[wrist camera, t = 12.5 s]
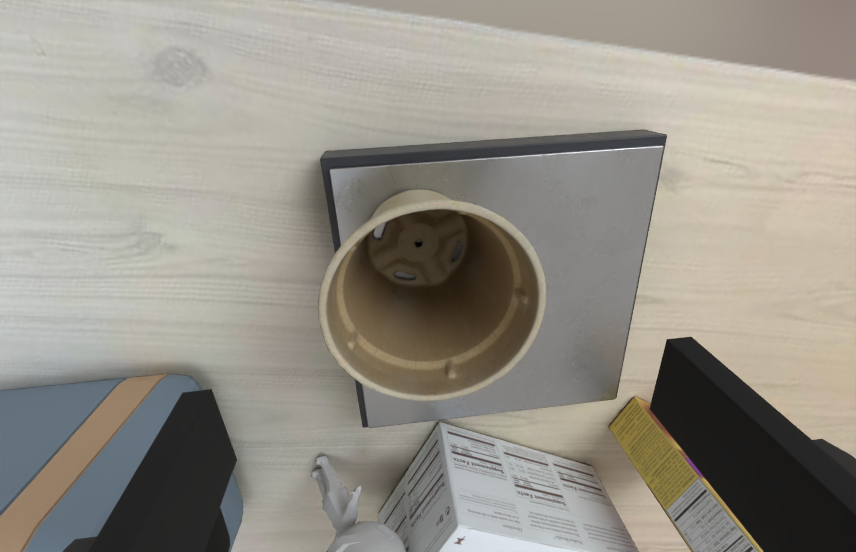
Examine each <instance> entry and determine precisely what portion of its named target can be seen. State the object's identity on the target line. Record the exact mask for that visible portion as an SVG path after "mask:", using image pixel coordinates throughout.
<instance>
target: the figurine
mask: <svg viewBox="0 0 856 552" xmlns="http://www.w3.org/2000/svg"><path fill="white" fill-rule="evenodd" d="M316 464H317V465H321V468H322V469H318V470H314V471H312V474H311V477H313V478H317V481H318V484H319V488H320V491H321V494H322V497H323V509H324V510H325V511H326V513H327V515H328V516H329V518H330V520H331V522H332V524H333V526H334V528H335V529H336V530H337V532H336V536H335V540H334V542H333V543H332V544H331V546H330V547H329V549H328V550H327V552H406V550H405V546H404V544H403V542H402V540H401V539H400V537H399V536H398V534H397V533H395V532H394V531H393V530H392V529H391V528H390V527H388V526H387V525H385V524H383V523H379V522H369V521H362V522H358V523H356V524H355V522H356V518H357V504H358V500H359V496H360V492H361V486H358V487H357V488H355V490H354V492H353V491H352V492H351V493H352V495H351V497H350V498H349V496H348V493H347V489H346V488H345V487H344V486H343V484H342V483H341V481H340V479H339V478H338V476H337V474H336V472H335V471H334V469H333V468H332V466H331V464H330V462H329V461H328V458H327V457H326V456H321V457H318V458H316ZM354 524H355V525H354Z"/></svg>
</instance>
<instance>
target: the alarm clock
mask: <svg viewBox="0 0 856 552" xmlns="http://www.w3.org/2000/svg"><path fill="white" fill-rule="evenodd" d="M201 390H202V389H201V388H200V386H199V385H198V384H197V383H196V382H195V381H194V380H193V379H192V378H191V377H188V376H182V375H175V374H161V375H151V376H142V377H132V378H122V379H112V380H102V381H92V382H82V383H72V384H63V385H53V386H43V387H33V388H23V389H13V390H3V391H0V552H62V551H63V550H64V549H65V548H66V547H67V546H68V545H69V544H70V543H71V542H72V541H73V540H74V539H81V538H88V537H96V536H98V534H99V532H100V531H101V529H102V527H103V526H104V524H105V522H106V521H107V519H108V517H109V515H110V514H111V512H112V510H113V509H114V507H115V505H116V504H117V502H118V500H119V499H120V497H121V495H122V494H123V492H124V490H125V489H126V487H127V485H128V483H129V482H130V480H131V478H132V477H133V475H134V473H135V472H136V470H137V468H138V467H139V465H140V463H141V462H142V460H143V458H144V457H145V455H146V453H147V451H148V450H149V448H150V446H151V445H152V443H153V441H154V440H155V438H156V436H157V435H158V433H159V431H160V430H161V428H162V426H163V424H164V423H165V421H166V419H167V418H168V416H169V414H170V413H171V411H172V409H173V408H174V406H175V404H176V403H177V401H178V399H179V398H180V396H181V394H182V393H183V392H192V391H201ZM242 515H243V501H242V498H241V495H240V492H239V489H238V487H237V484H236V481H235V478H234V475H233V473H232V475H231V478H230V480H229V483H228V486H227V489H226V492H225V495H224V497H223V500H222V503H221V506H220V509H219V512H218V514H217V517H216V520H215V523H214V526H213V529H212V531H211V534H210V537H209V540H208V543H207V545H206V548H205V551H204V552H231V549H232V546H233V543H234V541H235V538H236V535H237V533H238V530H239V527H240V524H241V521H242Z"/></svg>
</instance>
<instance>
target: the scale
mask: <svg viewBox="0 0 856 552" xmlns="http://www.w3.org/2000/svg"><path fill="white" fill-rule="evenodd" d="M666 138H667V135H666V134H661V133H657V132H652V131H648V130H632V131H617V132H602V133H588V134H573V135H558V136H543V137H529V138H514V139H499V140H484V141H470V142H455V143H440V144H425V145H411V146H396V147H381V148H366V149H352V150H337V151H326V152H325V153H324V154H323V156H322V157H321V159H320V161H321V167H322V174H323V180H324V186H325V192H326V199H327V205H328V211H329V218H330V224H331V230H332V237H333V243H334V249H335V253H336V252H337V250H338V249H339V248H340V247H341V245H342V244H343V243H344V242H345V240H346V239H347V238H348V237H349V236H350V235H351V234H352V233H353V232H355V231H356V230H357V229H358V228H359V227H360V226H362V225H363V224H364V223H366V222H367V221H369V220H370V218H371V216H372V215H373V213H374V212H375V211H376V209H377V208H378V207H379V206H380V205H381V204H382V203H383V202H385V201H386V200H388V199H389V198H391V197H393V196H394V195H397V194H400V193H402V192H405V191H408V190H416V189H420V190H430V191H434V192H437V193H440V194H442V195H444V196H446V197H448V198H449V199H451V200H455V201H462V202H467V203H471V204H475V205H478V206H481V207H483V208H486V209H488V210H490V211H492V212H494V213H496V214H498V215H499V216H501V217H503V218H504V219H506V220H507V221H508V222H510V223H511V224H512V225H513V226H514V227H516V228H517V229H518V230H519V231H520V232H521V233H522V234H523V235H524V236H525V237H526V238H527V240H528V241H529V242H530V244H531V245H532V247H533V248H534V250H535V252H536V254H537V256H538V258H539V260H540V263H541V266H542V269H543V272H544V276H545V284H546V304H545V310H544V315H543V319H542V322H541V325H540V328H539V330H538V332H537V335H536V337H535V339H534V341H533V343H532V344H531V346H530V347H529V349H528V350H527V352H526V353H525V355H524V356H523V357H522V359H521V360H520V361H519V362H518V363H517V364H516V365H515V366H514V367H513V368H512V369H511V370H509V371H508V372H507V373H506V374H505V375H504V376H502V377H500V378H499V379H497V380H496V381H494V382H493V383H491V384H489V385H488V386H486V387H484V388H481V389H479V390H478V391H475V392H473V393H470V394H466V395H463V396H459V397H455V398H452V399H448V400H438V401H417V400H407V399H400V398H396V397H392V396H389V395H384V394H382V393H380V392H378V391H375V390H373V389H371V388H368V387H366V386H364V385H363V384H361V383H360V382H358V381H357V380H356V379H355V382H356V388H357V394H358V401H359V407H360V413H361V419H362V426H363V427H369V428H374V427H383V426H391V425H400V424H408V423H417V422H426V421H434V420H443V419H451V418H460V417H468V416H477V415H485V414H494V413H502V412H511V411H519V410H528V409H537V408H545V407H554V406H562V405H571V404H579V403H588V402H596V401H605V400H613V399H615V398H616V397H617V392H618V387H619V381H620V376H621V371H622V366H623V361H624V356H625V350H626V345H627V340H628V335H629V330H630V324H631V319H632V314H633V309H634V304H635V299H636V293H637V288H638V283H639V278H640V273H641V267H642V262H643V257H644V252H645V247H646V242H647V236H648V231H649V226H650V221H651V216H652V211H653V205H654V200H655V195H656V190H657V185H658V179H659V174H660V169H661V164H662V159H663V154H664V148H665V143H666ZM385 226H386V222H385V223H383V224H381V225H379V226H378V227H376V229H375V231H374V238H375V239H381V238H382V233H383V231H384V228H385ZM415 244H416V246H417V247H419V246H421V245H422V241H420V240H419V241H416V242H415ZM461 251H462V243H457V246H456V249H455V251H454V254H453V256H452V259H451V261H455V260H456V259H457V258H458V257H459V256H460V252H461ZM395 276H396V277H399V278H403V279H408V280H409V279H415V276H413V275H409V274H405V273H403V272H401V271H398V272H396V273H395Z"/></svg>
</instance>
